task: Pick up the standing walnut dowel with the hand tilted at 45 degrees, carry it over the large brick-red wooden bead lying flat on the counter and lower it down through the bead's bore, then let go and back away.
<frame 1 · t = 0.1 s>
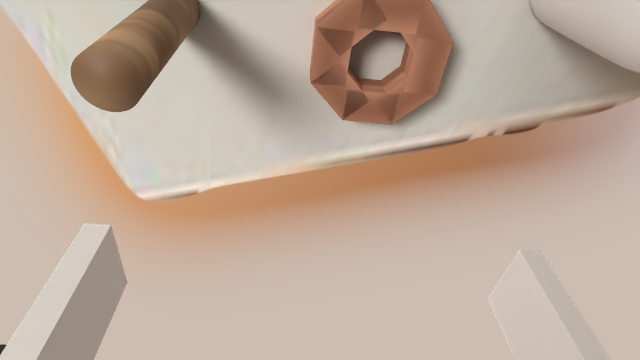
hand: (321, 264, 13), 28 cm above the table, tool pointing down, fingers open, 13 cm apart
bead: (375, 51, 37), on the table
dowel: (179, 7, 34), on the table
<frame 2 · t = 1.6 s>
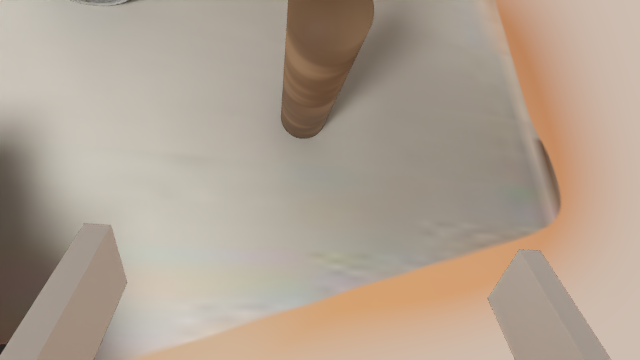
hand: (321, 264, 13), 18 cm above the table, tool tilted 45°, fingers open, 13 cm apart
dowel: (303, 117, 32), on the table
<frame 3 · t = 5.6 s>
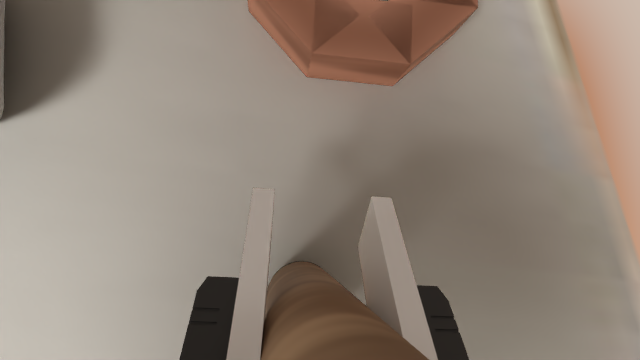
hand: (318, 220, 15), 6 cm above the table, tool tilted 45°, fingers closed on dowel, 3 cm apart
dowel: (301, 296, 20), on the table, touching gripper
when the fingers open (8 cm above the table, at t = 10.9 s): dowel drops 1 cm, resting in bead.
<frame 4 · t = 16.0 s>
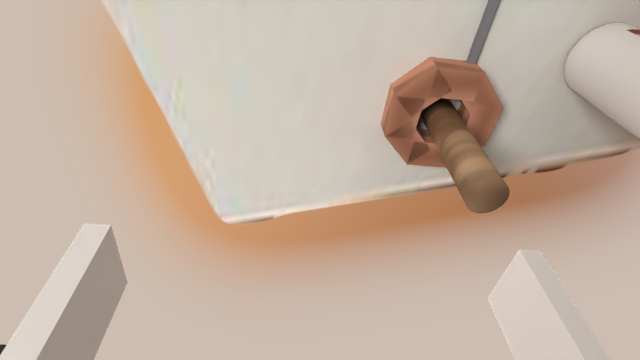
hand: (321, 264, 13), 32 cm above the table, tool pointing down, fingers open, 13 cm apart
milk bottle: (597, 57, 42), on the table
grey thin bar: (487, 13, 39), on the table
bead: (435, 109, 45), on the table
dowel: (435, 109, 45), resting in bead
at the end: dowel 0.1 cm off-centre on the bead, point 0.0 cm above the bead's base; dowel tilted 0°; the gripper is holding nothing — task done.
